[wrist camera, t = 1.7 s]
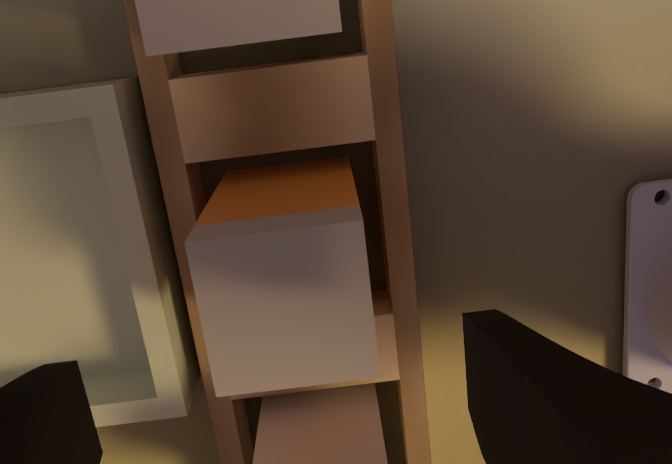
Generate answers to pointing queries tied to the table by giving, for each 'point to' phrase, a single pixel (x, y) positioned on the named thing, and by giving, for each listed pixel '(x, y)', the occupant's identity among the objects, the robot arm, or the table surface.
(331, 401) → the block
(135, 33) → the rack
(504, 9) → the table surface
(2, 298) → the tray
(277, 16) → the white fuse
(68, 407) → the robot arm
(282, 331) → the block
